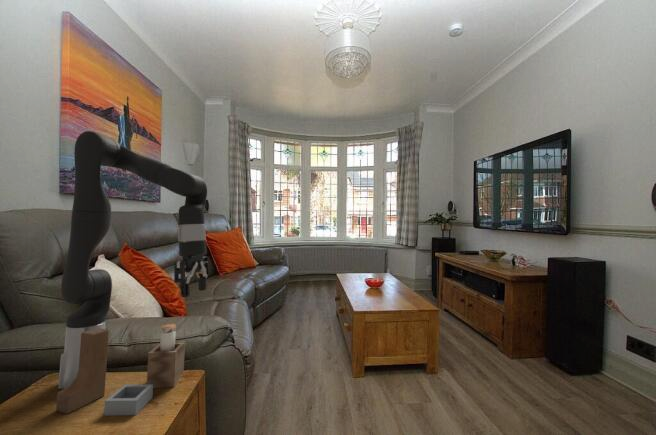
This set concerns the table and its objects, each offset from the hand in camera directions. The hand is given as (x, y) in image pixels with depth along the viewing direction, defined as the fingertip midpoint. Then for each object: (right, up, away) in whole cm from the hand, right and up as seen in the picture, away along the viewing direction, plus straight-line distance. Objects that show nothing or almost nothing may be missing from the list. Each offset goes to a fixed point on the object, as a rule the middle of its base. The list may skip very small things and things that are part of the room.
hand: (194, 293), depth 86 cm
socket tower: (-9, -27, +1) cm, 29 cm away
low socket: (-12, -26, -11) cm, 31 cm away
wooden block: (-25, -26, -11) cm, 38 cm away
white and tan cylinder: (-9, -20, +2) cm, 22 cm away
